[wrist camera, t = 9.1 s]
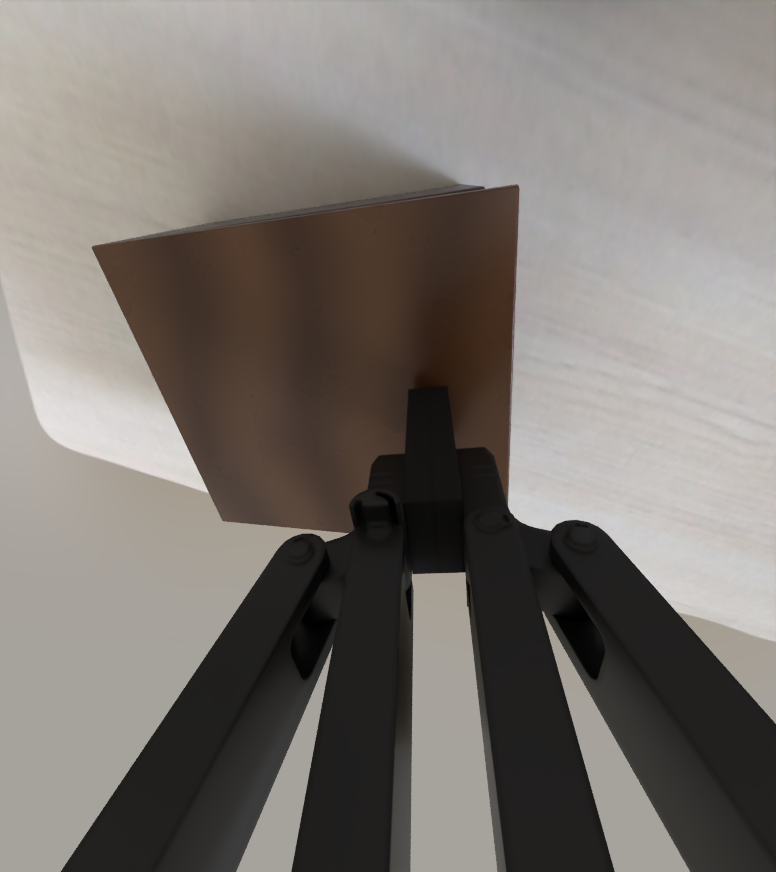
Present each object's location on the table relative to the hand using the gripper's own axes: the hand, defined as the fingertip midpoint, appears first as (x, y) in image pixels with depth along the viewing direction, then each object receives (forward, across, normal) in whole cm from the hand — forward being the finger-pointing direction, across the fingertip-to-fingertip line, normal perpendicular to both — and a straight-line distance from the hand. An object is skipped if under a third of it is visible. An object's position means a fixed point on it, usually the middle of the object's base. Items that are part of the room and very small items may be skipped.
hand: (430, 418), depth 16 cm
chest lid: (+2, -5, 0) cm, 5 cm away
